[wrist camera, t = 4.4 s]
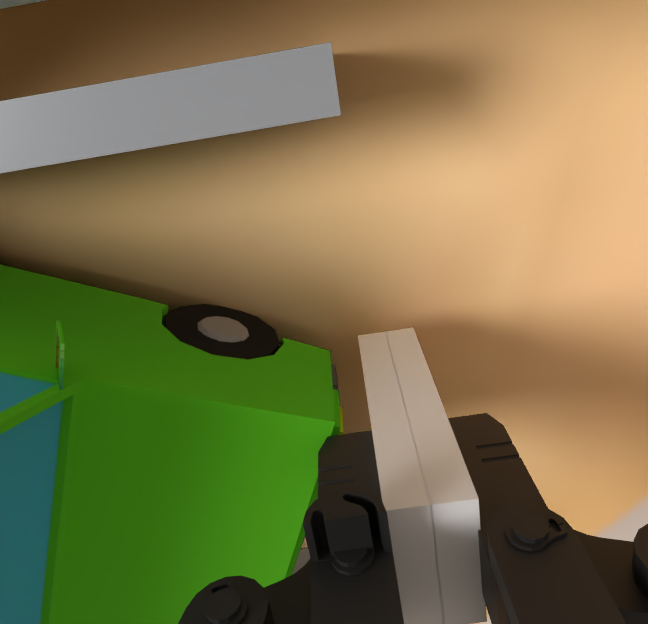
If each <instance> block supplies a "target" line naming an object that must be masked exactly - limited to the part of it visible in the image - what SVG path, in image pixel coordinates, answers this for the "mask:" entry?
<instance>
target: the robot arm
mask: <svg viewBox="0 0 648 624" xmlns="http://www.w3.org/2000/svg"><path fill="white" fill-rule="evenodd" d="M358 340H359V347H360V354H361V361H362V367H363V374H364V381H365V388H366V395H367V401H368V408H369V415H370V422H371V428H372V431H364V432H357V433H350V434H343V435H335V436H328V437H327V438H326V440H325V442H324V443H323V445H322V447H321V448H320V450H319V452H318V499H317V500H315V501H314V502H313V503H312V505H311V506H310V507H309V508H308V509H307V510H306V513H305V516H304V520H303V527H304V531H305V536H306V540H307V545H308V549H309V554H310V559H309V560H308V562H307V563H306V564H305V565H304V566H303V567H302V568H301V569H299V570H298V571H297V572H296V573H294V574H292V575H291V576H289V577H287V578H285V579H283V580H281V581H278V582H276V583H273V584H271V585H269V586H266V587H262V586H261V585H260V584H259V583H258V582H257V581H256V580H255V579H252V578H248V577H245V576H241V575H240V576H229V577H224V578H222V579H219V580H217V581H214V582H212V583H210V584H208V585H207V586H206V587H204V588H203V589H202V590H201V591H199V592H198V593H197V594H196V595H195V596H194V598H193V599H192V600H191V602H190V603H189V604H188V606H187V607H186V609H185V611H184V613H183V615H182V617H181V619H180V621H179V623H178V624H469V623H478V622H486V621H487V617H486V607H487V610H488V613H489V616H490V619H491V623H492V624H648V524H647V525H645V526H644V527H642V528H640V529H639V530H638V532H637V534H636V537H635V539H634V542H629V541H622V540H614V539H607V538H600V537H595V536H590V535H586V534H584V533H581V532H578V531H576V530H573V529H572V527H571V526H570V525H569V524H568V523H567V522H566V520H565V519H564V518H563V517H561V516H559V515H558V514H556V513H554V512H553V511H551V510H549V509H548V507H547V506H546V504H545V502H544V500H543V498H542V497H541V495H540V493H539V491H538V489H537V487H536V485H535V483H534V482H533V480H532V478H531V476H530V474H529V472H528V470H527V469H526V467H525V465H524V463H523V461H522V459H521V458H520V457H519V454H518V452H517V450H516V448H515V446H514V444H512V441H511V439H510V437H509V435H508V433H507V431H506V429H505V428H504V426H503V425H502V424H501V423H499V422H498V421H497V420H495V419H494V418H493V417H491V416H490V415H488V414H487V413H483V414H476V415H469V416H462V417H454V418H448V417H447V415H446V412H445V409H444V407H443V404H442V402H441V399H440V396H439V394H438V391H437V388H436V386H435V383H434V381H433V378H432V375H431V373H430V370H429V367H428V365H427V362H426V360H425V357H424V354H423V352H422V349H421V346H420V344H419V341H418V339H417V336H416V333H415V331H414V328H406V329H399V330H392V331H386V332H379V333H372V334H365V335H358Z"/></svg>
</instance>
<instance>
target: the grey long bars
mask: <svg viewBox="0 0 648 624" xmlns="http://www.w3.org/2000/svg"><path fill="white" fill-rule="evenodd" d="M340 115H341V111H340V104H339V97H338V90H337V83H336V76H335V69H334V62H333V54H332V47H331V42H329V43H324V44H318V45H313V46H307V47H301V48H296V49H290V50H284V51H279V52H273V53H268V54H262V55H256V56H251V57H245V58H240V59H234V60H228V61H223V62H217V63H211V64H206V65H200V66H195V67H189V68H183V69H178V70H172V71H167V72H161V73H155V74H150V75H144V76H138V77H133V78H127V79H122V80H116V81H110V82H105V83H99V84H94V85H88V86H82V87H77V88H71V89H65V90H60V91H54V92H49V93H43V94H37V95H32V96H26V97H21V98H15V99H9V100H4V101H0V173H5V172H11V171H17V170H23V169H29V168H35V167H40V166H46V165H52V164H58V163H64V162H70V161H76V160H82V159H87V158H93V157H99V156H105V155H111V154H117V153H123V152H128V151H134V150H140V149H146V148H152V147H158V146H164V145H169V144H175V143H181V142H187V141H193V140H199V139H205V138H211V137H216V136H222V135H228V134H234V133H240V132H246V131H252V130H257V129H263V128H269V127H275V126H281V125H287V124H293V123H299V122H304V121H310V120H316V119H322V118H328V117H334V116H340ZM309 559H310V554H309V549H308V548H304V549H300V552H299V555H298V558H297V561H296V564H295V567H294V571H293V574H294V573H296V572H297V571H298V570H299V569H301V568H302V567H303V566H304V565H305V564H306V563H307V562H308V560H309Z"/></svg>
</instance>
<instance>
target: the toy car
mask: <svg viewBox="0 0 648 624" xmlns="http://www.w3.org/2000/svg"><path fill="white" fill-rule="evenodd" d="M167 312H168V305H165V304H161V303H158V302H154V301H150V300H147V299H142V298H138V297H134V296H130V295H126V294H122V293H117V292H113V291H109V290H105V289H101V288H97V287H92V286H88V285H84V284H80V283H76V282H72V281H67V280H63V279H59V278H55V277H51V276H46V275H42V274H38V273H34V272H30V271H26V270H21V269H17V268H13V267H9V266H5V265H1V264H0V624H178V623H179V621H180V619H181V617H182V615H183V613H184V611H185V609H186V607H187V606H188V604H189V603H190V602H191V600H192V599H193V598H194V596H195V595H196V594H197V593H198V592H199V591H201V590H202V589H203V588H204V587H206V586H207V585H208V584H210V583H212V582H214V581H217V580H219V579H222V578H224V577H229V576H240V575H241V576H245V577H248V578H252V579H255V580H256V581H257V582H258V583H259V584H260V585H261V586H262V587H266V586H269V585H271V584H273V583H276V582H278V581H281V580H283V579H285V578H287V577H289V576H291V575H292V574H293V571H294V567H295V564H296V561H297V558H298V555H299V552H300V549H301V546H302V543H303V540H304V537H305V531H304V527H303V520H304V516H305V513H306V510H307V509H308V508H309V507H310V506H311V505H312V503H313V502H314V501H315V500H317V498H318V452H319V450H320V448H321V447H322V445H323V443H324V442H325V440H326V438H327V437H328V436H335V435H343V434H344V424H343V409H342V407H340V406H339V390H337V389H338V380H337V374H336V367H335V365H334V364H331V355H330V351H329V350H326V349H322V348H319V347H315V346H311V345H308V344H304V343H301V342H297V341H294V340H290V339H286V338H283V337H282V340H281V344H280V342H279V339H278V337H277V334H276V332H275V329H273V328H272V327H271V326H269V325H268V324H266V323H265V322H264V321H262V320H261V319H259V318H258V317H256V316H253V315H251V314H248V313H245V312H242V311H238V310H234V309H230V308H225V307H221V306H214V305H207V304H201V305H192V306H183V307H179V308H178V309H176V310H174V311H173V312H171V313H169V314H168V315H167ZM279 345H280V348H279ZM278 348H279V350H278Z"/></svg>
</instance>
